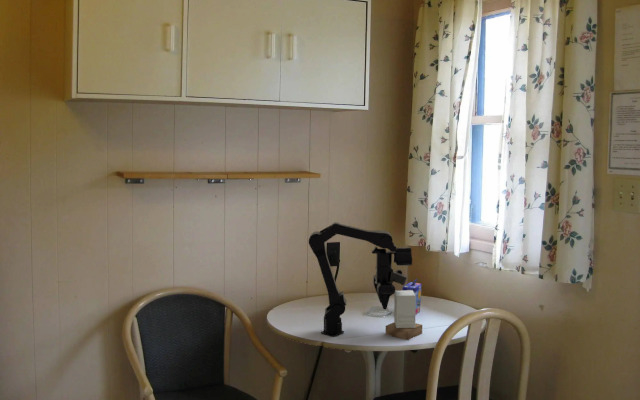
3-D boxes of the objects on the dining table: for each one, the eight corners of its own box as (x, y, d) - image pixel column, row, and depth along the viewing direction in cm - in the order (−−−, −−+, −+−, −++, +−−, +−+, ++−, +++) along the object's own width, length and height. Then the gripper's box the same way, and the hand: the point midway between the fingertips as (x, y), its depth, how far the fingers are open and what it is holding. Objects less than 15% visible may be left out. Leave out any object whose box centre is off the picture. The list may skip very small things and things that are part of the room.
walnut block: (385, 336, 235) (385, 325, 234) (399, 329, 242) (400, 319, 242) (408, 341, 228) (408, 331, 228) (422, 335, 236) (422, 324, 235)
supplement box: (413, 322, 238) (413, 290, 237) (415, 328, 231) (416, 295, 229) (393, 322, 238) (394, 289, 237) (395, 328, 231) (395, 295, 230)
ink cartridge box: (413, 317, 257) (414, 282, 256) (401, 315, 260) (401, 281, 258) (421, 311, 266) (422, 277, 265) (409, 309, 269) (409, 276, 267)
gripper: (409, 270, 223) (408, 312, 225) (401, 260, 242) (400, 299, 244) (378, 270, 223) (378, 312, 225) (372, 260, 242) (372, 299, 243)
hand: (383, 305), depth 234 cm, fingers open, 9 cm apart
